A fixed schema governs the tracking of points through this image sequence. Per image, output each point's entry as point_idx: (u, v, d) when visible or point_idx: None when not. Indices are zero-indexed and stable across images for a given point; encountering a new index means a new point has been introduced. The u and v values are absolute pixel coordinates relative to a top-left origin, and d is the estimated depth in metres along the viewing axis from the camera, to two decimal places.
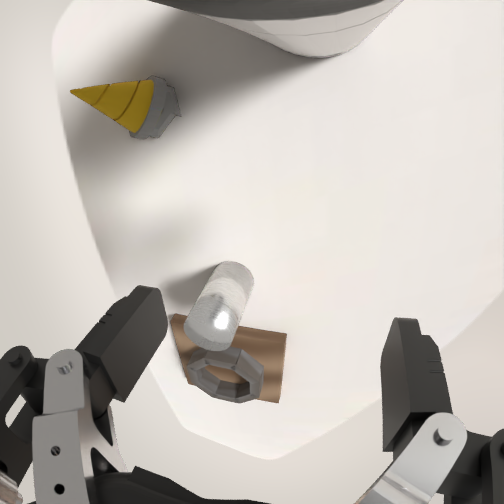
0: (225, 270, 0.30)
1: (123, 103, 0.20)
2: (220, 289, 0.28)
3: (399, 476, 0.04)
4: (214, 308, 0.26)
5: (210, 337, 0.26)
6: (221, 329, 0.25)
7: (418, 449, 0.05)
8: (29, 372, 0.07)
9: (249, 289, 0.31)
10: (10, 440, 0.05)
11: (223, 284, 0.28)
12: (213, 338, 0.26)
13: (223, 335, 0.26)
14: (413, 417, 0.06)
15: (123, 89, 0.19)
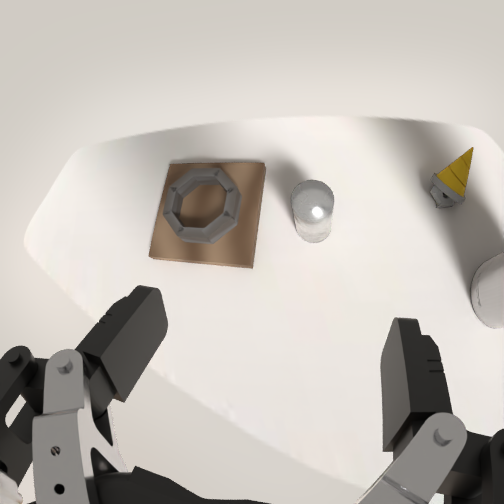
0: None
1: (460, 177, 0.31)
2: (332, 215, 0.34)
3: (399, 476, 0.04)
4: (332, 209, 0.32)
5: (309, 201, 0.31)
6: (321, 212, 0.31)
7: (418, 449, 0.05)
8: (29, 372, 0.07)
9: (315, 238, 0.36)
10: (10, 440, 0.05)
11: None
12: (308, 203, 0.31)
13: (314, 212, 0.31)
14: (413, 417, 0.06)
15: (466, 179, 0.31)
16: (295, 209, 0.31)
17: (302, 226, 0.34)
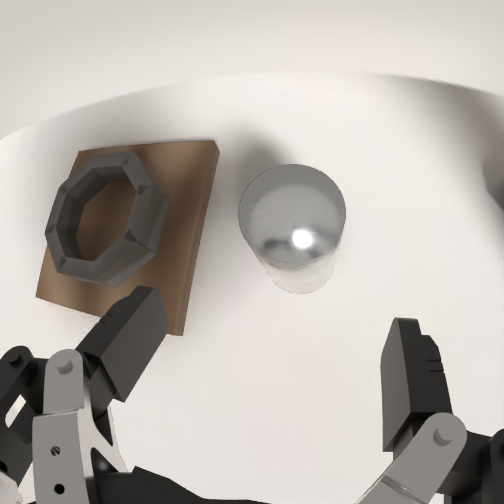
0: None
1: None
2: None
3: (399, 476, 0.04)
4: None
5: (282, 216, 0.13)
6: (313, 246, 0.12)
7: (418, 449, 0.05)
8: (29, 372, 0.07)
9: (300, 289, 0.18)
10: (10, 440, 0.05)
11: None
12: (279, 222, 0.13)
13: (295, 246, 0.12)
14: (413, 417, 0.06)
15: None
16: (247, 236, 0.13)
17: (270, 270, 0.15)
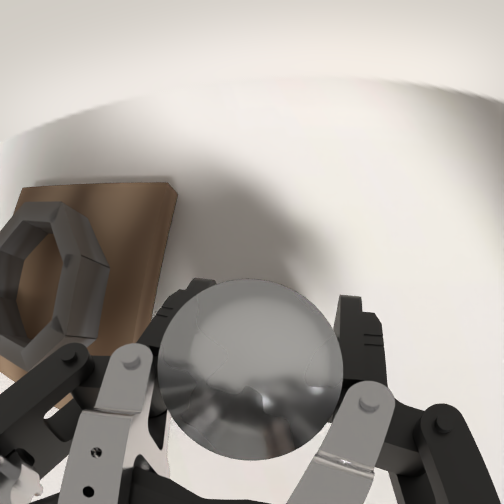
0: None
1: None
2: None
3: (334, 450, 0.05)
4: None
5: (229, 382, 0.07)
6: (278, 437, 0.06)
7: (339, 412, 0.06)
8: (87, 371, 0.07)
9: None
10: (45, 437, 0.06)
11: None
12: (223, 393, 0.07)
13: (247, 435, 0.06)
14: (342, 384, 0.07)
15: None
16: (172, 408, 0.07)
17: None
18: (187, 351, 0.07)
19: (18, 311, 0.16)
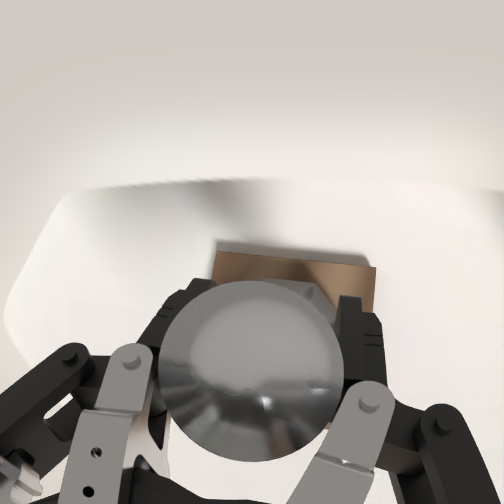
0: None
1: None
2: None
3: (333, 450, 0.05)
4: None
5: (230, 384, 0.07)
6: (279, 439, 0.06)
7: (339, 412, 0.06)
8: (87, 371, 0.07)
9: None
10: (45, 437, 0.06)
11: None
12: (224, 394, 0.07)
13: (248, 437, 0.06)
14: None
15: None
16: (172, 409, 0.07)
17: None
18: (188, 353, 0.07)
19: None
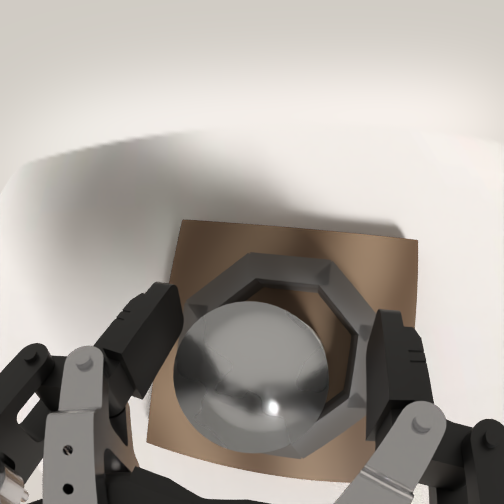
0: None
1: None
2: None
3: (380, 467, 0.04)
4: None
5: (234, 388, 0.08)
6: (276, 433, 0.07)
7: (395, 436, 0.05)
8: (46, 370, 0.07)
9: None
10: (20, 438, 0.05)
11: None
12: (229, 397, 0.08)
13: (251, 432, 0.08)
14: (392, 405, 0.06)
15: None
16: (187, 411, 0.08)
17: None
18: (198, 363, 0.08)
19: None
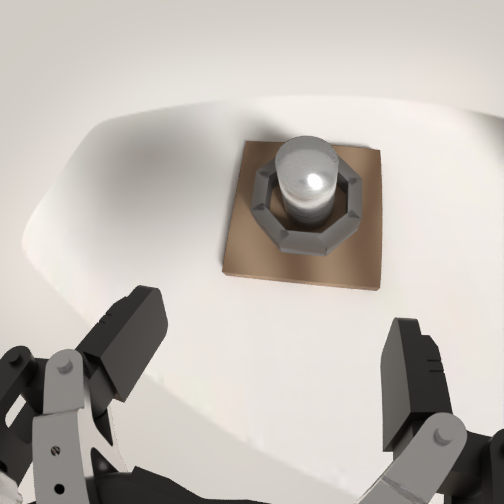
0: None
1: None
2: (335, 188, 0.24)
3: (399, 476, 0.04)
4: (336, 176, 0.21)
5: (302, 164, 0.21)
6: (321, 179, 0.20)
7: (418, 449, 0.05)
8: (29, 372, 0.07)
9: (312, 222, 0.26)
10: (10, 440, 0.05)
11: None
12: (300, 167, 0.21)
13: (310, 179, 0.20)
14: (413, 417, 0.06)
15: None
16: (282, 176, 0.21)
17: (293, 203, 0.23)
18: (286, 157, 0.21)
19: None
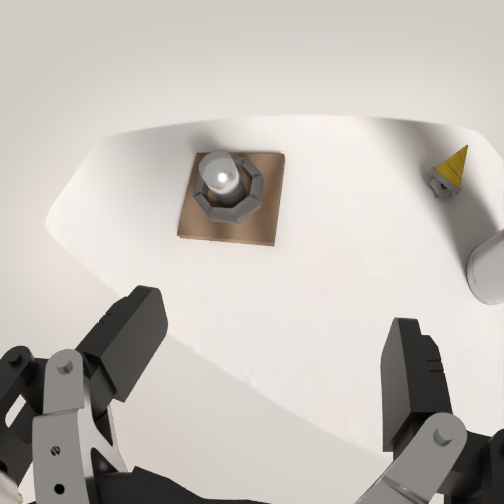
0: (244, 187, 0.43)
1: (456, 170, 0.36)
2: (239, 180, 0.40)
3: (399, 476, 0.04)
4: (234, 173, 0.38)
5: (212, 167, 0.37)
6: (221, 175, 0.37)
7: (418, 449, 0.05)
8: (29, 372, 0.07)
9: (229, 202, 0.43)
10: (10, 440, 0.05)
11: (240, 183, 0.41)
12: (211, 169, 0.37)
13: (216, 175, 0.37)
14: (413, 417, 0.06)
15: (461, 172, 0.36)
16: (201, 174, 0.37)
17: (212, 190, 0.40)
18: (205, 164, 0.38)
19: (209, 204, 0.45)
